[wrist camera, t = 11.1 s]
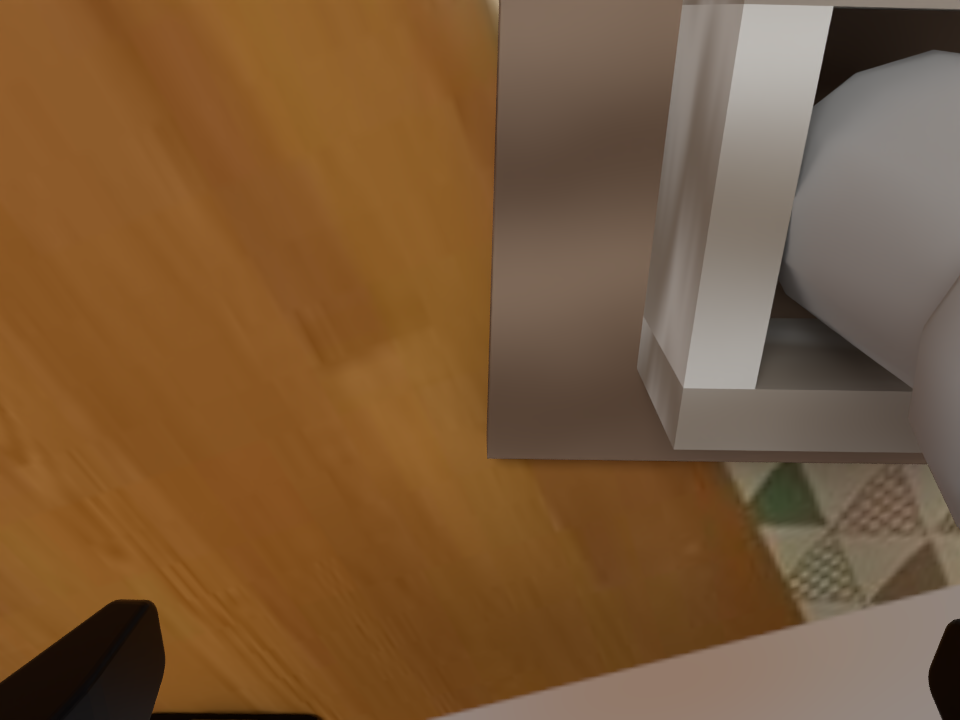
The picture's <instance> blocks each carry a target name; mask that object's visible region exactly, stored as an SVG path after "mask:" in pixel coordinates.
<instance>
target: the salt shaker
mask: <svg viewBox="0 0 960 720" xmlns="http://www.w3.org/2000/svg"><path fill="white" fill-rule="evenodd" d="M778 280H779V282H780V284H781V286H782V288H783V290H784V292H785V294H786V295H788V296H789V297H790V298H792V299H793V300H794V301H796V302H797V303H798V304H799V305H801V306H802V307H803V308H805V309H806V310H807V311H809V312H810V313H811V314H812V315H814V316H815V317H816V318H818V319H819V320H820V321H822V322H823V323H824V324H825V325H827V326H828V327H829V328H831V329H832V330H833V331H835V332H836V333H837V334H839V335H840V336H841V337H843V338H844V339H846V340H847V341H848V342H850V343H851V344H852V345H854V346H855V347H857V348H858V349H859V350H861V351H862V352H863V353H865V354H866V355H867V356H869V357H870V358H872V359H873V360H874V361H876V362H877V363H878V364H880V365H881V366H882V367H884V368H885V369H887V370H888V371H889V372H891V373H892V374H893V375H895V376H896V377H898V378H899V379H900V380H902V381H903V382H904V383H906V384H907V385H908V386H910V387H911V388H913V391H912V397H911V404H910V410H909V416H908V420H909V422H910V425H911V427H912V430H913V432H914V434H915V437H916V439H917V442H918V444H919V446H920V449H921V451H922V453H923V455H924V458H925V460H926V462H927V464H928V466H929V468H930V470H931V472H932V474H933V477H934V479H935V481H936V483H937V485H938V487H939V489H940V491H941V494H942V496H943V498H944V500H945V502H946V504H947V506H948V508H949V511H950V513H951V515H952V517H953V519H954V521H955V523H956V525H957V527H958V528H959V529H960V53H955V52H947V51H940V50H931V51H927V52H924V53H921V54H917V55H914V56H911V57H907V58H904V59H901V60H897V61H894V62H891V63H887V64H884V65H881V66H877V67H874V68H871V69H867V70H864V71H861V72H857V73H855V74H854V75H852V76H851V77H850V78H848V79H847V80H846V81H845V82H843V83H842V84H841V85H840V86H838V87H837V88H836V89H835V90H833V91H832V92H831V93H830V94H828V95H827V96H826V97H825V98H823V99H822V100H821V101H820V102H818V103H817V104H816V105H814V106H813V109H812V114H811V119H810V124H809V128H808V133H807V138H806V143H805V148H804V153H803V158H802V163H801V167H800V172H799V177H798V182H797V187H796V192H795V197H794V200H793V206H792V211H791V216H790V221H789V226H788V231H787V236H786V241H785V246H784V250H783V255H782V260H781V265H780V270H779V275H778Z"/></svg>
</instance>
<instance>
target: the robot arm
mask: <svg viewBox="0 0 960 720" xmlns="http://www.w3.org/2000/svg"><path fill="white" fill-rule="evenodd" d="M164 668H165V652H164V646H163V640H162V635H161V629H160V623H159V618H158V612H157V609H156V606H155V605H154V603H153V602H151V601H149V600H123V599H120V600H115V601H113V602H111V603H109V604H108V605H106V606H105V607H103V608H102V609H101V610H99V611H98V612H97V613H95V614H94V615H92V616H91V617H90V618H88V619H87V620H86V621H84V622H83V623H81V624H80V625H79V626H77V627H76V628H75V629H73V630H72V631H70V632H69V633H68V634H66V635H65V636H64V637H62V638H61V639H60V640H58V641H57V642H55V643H54V644H53V645H51V646H50V647H49V648H47V649H46V650H44V651H43V652H42V653H40V654H39V655H38V656H36V657H35V658H34V659H32V660H31V661H29V662H28V663H27V664H25V665H24V666H23V667H21V668H20V669H18V670H17V671H16V672H14V673H13V674H12V675H10V676H9V677H8V678H6V679H5V680H3V681H2V682H1V683H0V720H317V719H316V718H314V717H312V716H300V715H167V714H152V711H153V708H154V704H155V701H156V698H157V695H158V691H159V688H160V685H161V682H162V678H163V674H164ZM928 678H929V687H930V690H931V694H932V697H933V699H934V701H935V704H936V706H937V708H938V711H939V713H940V715H941V718H942V720H960V619H956V620H953V621H952V622H950V623H949V624H948V625H947V627H946V629H945V631H944V634H943V636H942V639H941V641H940V644H939V646H938V649H937V651H936V654H935V656H934V659H933V661H932V663H931V666H930V669H929V676H928ZM151 714H152V715H151Z"/></svg>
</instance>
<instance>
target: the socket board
mask: <svg viewBox="0 0 960 720" xmlns="http://www.w3.org/2000/svg"><path fill="white" fill-rule="evenodd" d="M931 50H940V51H947V52H955V53H960V0H499V28H498V63H497V97H496V132H495V167H494V201H493V236H492V270H491V305H490V340H489V374H488V409H487V458H492V459H568V460H644V461H720V462H795V463H871V464H927V462H926V460H925V458H924V455H923V453H922V451H921V449H920V446H919V444H918V442H917V439H916V437H915V434H914V432H913V430H912V427H911V425H910V422H909V420H908V416H909V410H910V404H911V397H912V391H913V388H911V387H910V386H908V385H907V384H906V383H904V382H903V381H902V380H900V379H899V378H898V377H896V376H895V375H893V374H892V373H891V372H889V371H888V370H887V369H885V368H884V367H882V366H881V365H880V364H878V363H877V362H876V361H874V360H873V359H872V358H870V357H869V356H867V355H866V354H865V353H863V352H862V351H861V350H859V349H858V348H857V347H855V346H854V345H852V344H851V343H850V342H848V341H847V340H846V339H844V338H843V337H841V336H840V335H839V334H837V333H836V332H835V331H833V330H832V329H831V328H829V327H828V326H827V325H825V324H824V323H823V322H822V321H820V320H819V319H818V318H816V317H815V316H814V315H812V314H811V313H810V312H809V311H807V310H806V309H805V308H803V307H802V306H801V305H799V304H798V303H797V302H796V301H794V300H793V299H792V298H790V297H789V296H788V295H786V294H785V292H784V290H783V288H782V286H781V284H780V282H779V280H778V275H779V270H780V265H781V260H782V255H783V250H784V246H785V241H786V236H787V231H788V226H789V221H790V216H791V211H792V206H793V200H794V197H795V192H796V187H797V182H798V177H799V172H800V167H801V163H802V158H803V153H804V148H805V143H806V138H807V133H808V128H809V124H810V119H811V114H812V109H813V106H814V105H816V104H817V103H818V102H820V101H821V100H822V99H823V98H825V97H826V96H827V95H828V94H830V93H831V92H832V91H833V90H835V89H836V88H837V87H838V86H840V85H841V84H842V83H843V82H845V81H846V80H847V79H848V78H850V77H851V76H852V75H854V74H855V73H857V72H861V71H864V70H867V69H871V68H874V67H877V66H881V65H884V64H887V63H891V62H894V61H897V60H901V59H904V58H907V57H911V56H914V55H917V54H921V53H924V52H927V51H931Z"/></svg>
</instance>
